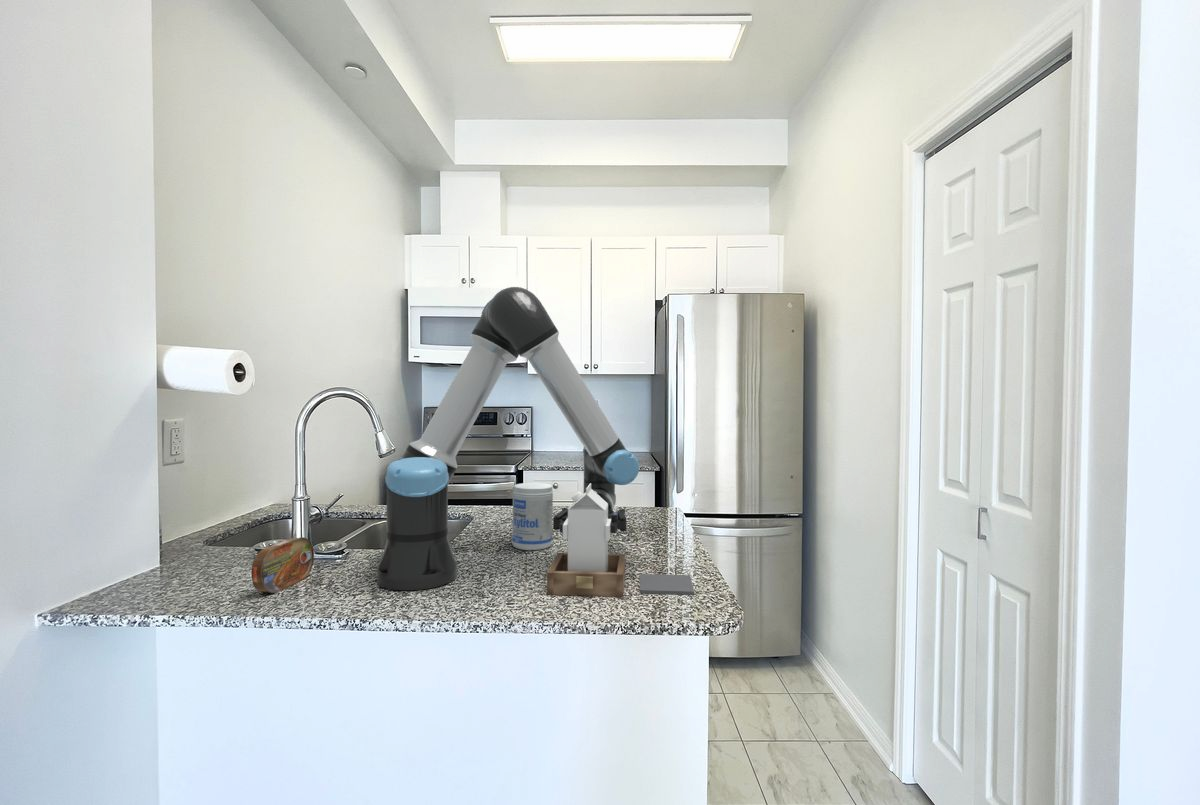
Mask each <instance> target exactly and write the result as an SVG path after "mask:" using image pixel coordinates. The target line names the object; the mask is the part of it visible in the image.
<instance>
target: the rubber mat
mask: <svg viewBox="0 0 1200 805" xmlns="http://www.w3.org/2000/svg"><path fill="white" fill-rule="evenodd" d="M639 594H648V595H650V594H651V595H652V594H653V595H681V596H683V595H686V596H687V595H688V596H694V595H695V589H694V586H693V581H692V578H691V575H690V574H660V573H659V574H657V573H655V574H654V573H652V574H651V573H640V574H639Z"/></svg>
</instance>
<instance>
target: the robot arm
mask: <svg viewBox="0 0 1200 805" xmlns="http://www.w3.org/2000/svg"><path fill="white" fill-rule="evenodd" d="M559 334H560V332H559V330H558V329H557V326H556V325H555V323H554V321H553V320H552V318H551V316H550V315H549V314H548V312H547V309H546V308H545V307H544V305H543V303H542V302H541V300H540V299H539V298H538V297H537V295H535V294H534V293H533V292H531V291H529V290H528V289H527V288H523V287H519V286H510V287H507V288H503V289H502V290H500V291H498V292H496V294H495V295H494V296H493V297H492V298H491V299H490V300H489V301H488V302H487V303H486V304H485V305H484V307H483V309H482V311H481V315H480V318H479V319H478V321H477V323H476V324H475V326H474V328H473V329H472V332H470V339H471V343H472V346H471V347H470V350H469V351H468V353H467V355H466V357H465V359H464V360H463V362H462V363H461V366H460V367H459V369H458V371H457V373H456V375H455V376H454V378H453V380H452V382H451V383H450V385H449V386H448V388H447V390H446V392H445V393H444V396H443V398H442V399H441V401H440V403H439V405H438V407H437V408H436V410H435V413H434V414H433V415H432V417H431V419H430V421H429V423H428V425H427V426H426V428H425V430H424V431H423V433H422V435H421V437H420V438H419V439H417V440H415V441H412V442H409V444H408V446H407V448H406V449H405V451H404V453H403V454H402V456H401V458H400V459H398V460H394V461H392V462H391V463H390V464H389V465H388V466H387V468H386V474H385V477H384V478H385V481H384V482H385V484H386V542H385V546H384V549H383V552H382V555H381V559H380V561H379V564H378V568H377V572H376V575H377V576H376V581H377V582H376V583H377V585H379V586H380V587H382V588H384V589H387V590H388V589H389V590H392V591H393V590H396V591H419V590H426V589H432V588H436V587H440V586H443V585H447V584H449V583H451V582H453V581H455V580H456V578H457V575H458V568H457V567H458V565H457V561H456V558H455V555H454V552H453V548H452V547H451V544H450V540H449V531H448V528H449V527H448V526H449V521H448V520H449V516H448V515H449V513H448V512H449V509H448V507H449V502H448V501H449V492H448V491H449V490H448V488H449V484H450V482H451V480H452V478H453V477H454V475H455V473H456V471H457V468H458V467H459V466H458V464H457V463H458V462H457V460H456V457H457V455H458V453H459V451H460V450H461V448H462V446H463V444H464V443H465V441H466V437H467V436H468V435H469V433H470V431H471V430H472V427H473V426H474V423H475V422H476V420H477V419H478V417H479V415H480V413H481V411H482V409H483V408H484V406H485V404H486V401H487V400H488V399H489V396H490V394H492V390H493V389H494V387H495V385H496V384H497V382H498V380H499V378H500V376H502V373H503V371H504V369H505V367H506V365H507V364H509V363H513V362H515V361H517V359H518V357H519V356H520V357H522V358H525V359H527V360H528V362H529V363H530V365H531V367H532V368H533V369H534V371H535V373H536V374H537V376H538V377H539V379H540V380H541V382H542V384H543V385H544V387H545V388H546V391H548V393H549V395H550V396H551V397H552V399H553V401H554V402H555V403H556V405H557V407H558V408H559V410H560V412H561V413H562V414H563V416H564V418H565V419H566V421H567V422H568V424H569V425H570V427H571V429H572V431H573V432H574V434H576V437H577V438H578V440H579V441H580V443H581V444H582V445H583V450H582V452H583V494H584V493H586V488H587V487H588V485H589V484H590V483H591V489H592V490H593V491H594V492H596V493H597V494H598V495H599V496H600V497H601V498H602V499H603V500H605V501H606V502H607V503H608V519H607V522H606V525H605V541H608V542H609V541H610V539H611V535H612V534H616V533H617V532H618V530H619V531H620V532H624V533H625V532H626V531H627V516H626V509H624V508H621V509H618V510H616V511H615V512H614V508H615V505H616V504H617V500H616V498H617V496H616V490H615V489H616V485H618V486H626V485H629V484H630V483H632V482H633V481H635V479H636V478H637V477H638V474H639V471H640V463H639V459H638V458H637V457H636V455H634V454H633V453H632V452H631V451H629V450H627V449H626V447H625V445H624V443H623V442H622V441H621V439H620V437H619V436H618V434H617V433H616V431H615V430H614V428H613V426H612V425H611V423H610V421H609V420H608V418H607V416H606V415H605V413H604V412H603V410H602V408H601V407H600V405H599V403H598V402H597V400H596V399H595V397H594V396H593V394H592V392H591V391H590V389H589V387H588V386H587V385H586V383H585V381H584V379H583V378H582V376H581V375H580V373H579V372H578V370H577V368H576V367H575V365H574V364H573V362H572V360H571V358H570V357H569V355H568V354H567V352H566V351H565V349H564V347H563V346H562V344H561V342H560V341H559ZM568 509H569V508H567V507H563V508H561V510H560V511H559V512H558V513H556V514H555V515H553V516H552V530H554V531H559V532H560V533H561V535H562V540H563V541H564V540H565V541H566V540H567V541H568Z"/></svg>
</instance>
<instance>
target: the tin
mask: <svg viewBox="0 0 1200 805" xmlns="http://www.w3.org/2000/svg"><path fill="white" fill-rule="evenodd" d="M311 542H312V541H310V540H309V539H308V538H307V537H304V536H303V537H292V538H288V539H286V540H283V541H281V542H277V543H275V544H273V545H269V546H266V547H265V548H263V549H261V550H259V552H257V554H256V555H255V557H254V559H253V561H252V563H251V581H252V585H253V588H254V589H255V590H257V591H258V592H260V593H272V594H276V593H277V594H278V593H279V592H281V591H284V590H285V589H287V588H289V587H291V586H293V585H295V584H298V583H299V582H301V581H303V580H305V579H306V578H307V576H309V575H310V573H311V571H312V568H313V565H314V560H315V554H314V553H315V552H314V547H313V544H312V543H311Z"/></svg>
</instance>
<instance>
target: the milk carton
mask: <svg viewBox="0 0 1200 805" xmlns="http://www.w3.org/2000/svg"><path fill="white" fill-rule="evenodd" d="M571 500H572V501H573V503H572V504H571V505H570V507H569V508H567V509H568V538H567V553H568V571H575V572H608V554H609V541H605V525H606V522H607V519H608V503H607V502H606V501H605V500H603V499H602V498H601V497H600V496H599V495H598V494H597V493H596V492H594V491H593V490H592V489H591V483H590V484H589V485H588V487H587V488H586V493H584V492H583V493H582V492H581V490H579V491H577V492H576V493H575V494H574V495H572V496H571Z"/></svg>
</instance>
